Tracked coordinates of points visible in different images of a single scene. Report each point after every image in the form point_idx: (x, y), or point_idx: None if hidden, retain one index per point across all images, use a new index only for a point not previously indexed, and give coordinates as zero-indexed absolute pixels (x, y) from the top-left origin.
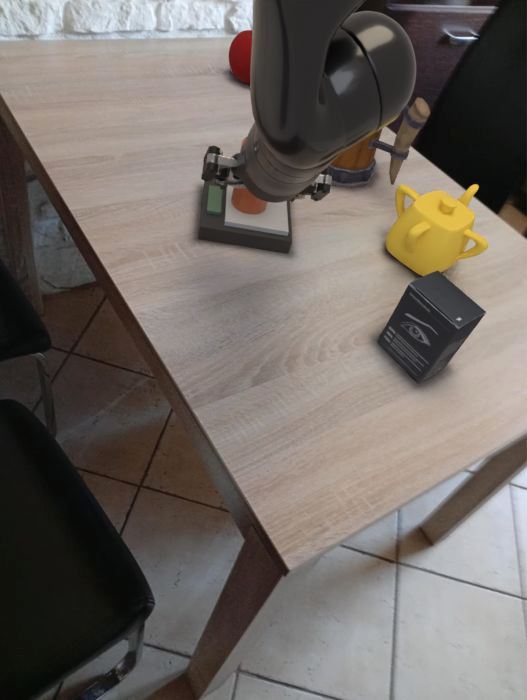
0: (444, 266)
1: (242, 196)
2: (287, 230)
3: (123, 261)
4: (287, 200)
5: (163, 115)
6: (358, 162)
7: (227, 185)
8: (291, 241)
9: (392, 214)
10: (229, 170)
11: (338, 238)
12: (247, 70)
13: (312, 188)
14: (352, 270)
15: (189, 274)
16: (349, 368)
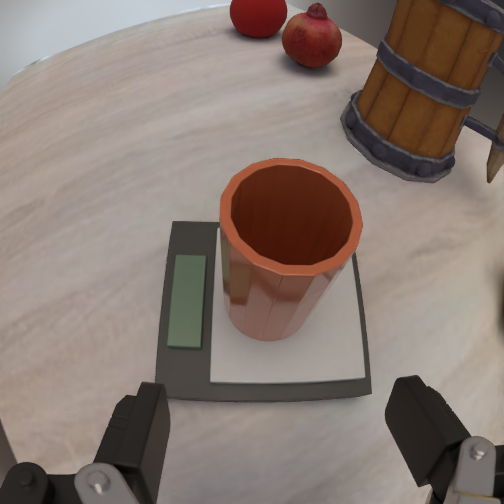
0: None
1: (247, 323)
2: (362, 373)
3: (41, 465)
4: (390, 430)
5: (134, 98)
6: (445, 147)
7: (155, 500)
8: (370, 393)
9: (492, 231)
10: (142, 477)
11: (441, 316)
12: (254, 23)
13: (498, 489)
14: (465, 395)
15: None
16: None
